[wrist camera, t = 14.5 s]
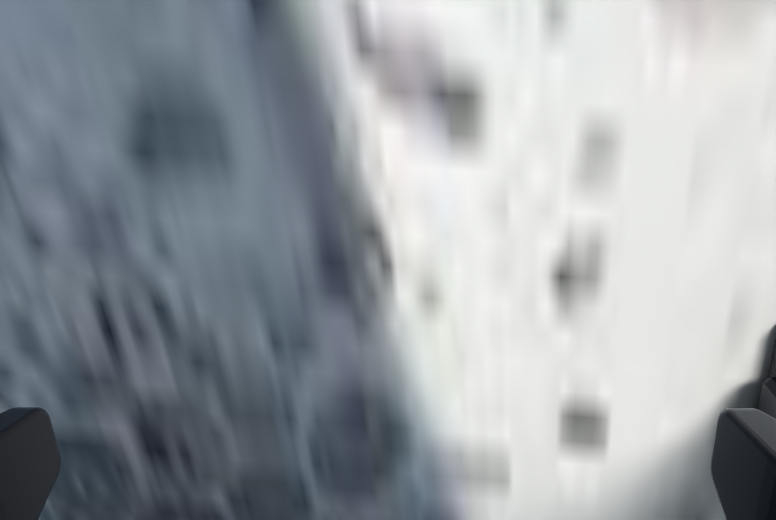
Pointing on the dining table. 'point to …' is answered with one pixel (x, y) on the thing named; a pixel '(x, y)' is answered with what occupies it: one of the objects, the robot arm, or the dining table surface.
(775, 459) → the robot arm
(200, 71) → the dining table surface
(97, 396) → the dining table surface
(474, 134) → the dining table surface
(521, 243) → the dining table surface
